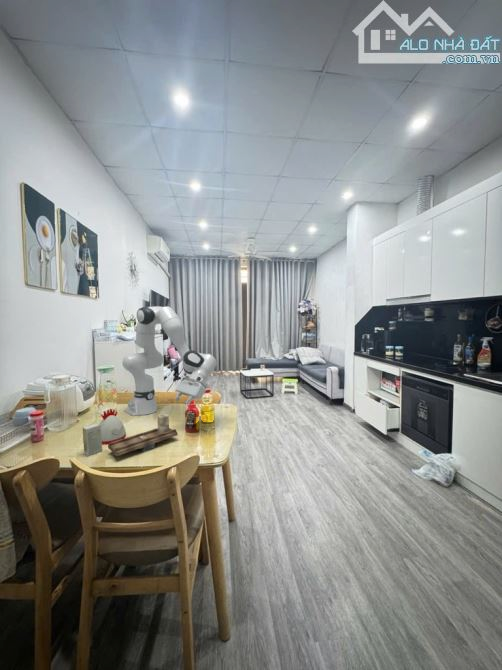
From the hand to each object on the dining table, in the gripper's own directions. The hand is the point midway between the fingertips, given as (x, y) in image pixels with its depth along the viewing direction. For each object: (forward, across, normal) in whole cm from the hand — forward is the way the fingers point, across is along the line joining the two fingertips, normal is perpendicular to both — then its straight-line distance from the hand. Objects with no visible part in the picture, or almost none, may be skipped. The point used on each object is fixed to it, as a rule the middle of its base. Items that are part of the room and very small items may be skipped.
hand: (181, 402), depth 136 cm
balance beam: (+26, 0, -2) cm, 26 cm away
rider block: (+16, 0, +2) cm, 16 cm away
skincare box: (+39, -12, -15) cm, 43 cm away
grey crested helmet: (+32, -22, -8) cm, 39 cm away
